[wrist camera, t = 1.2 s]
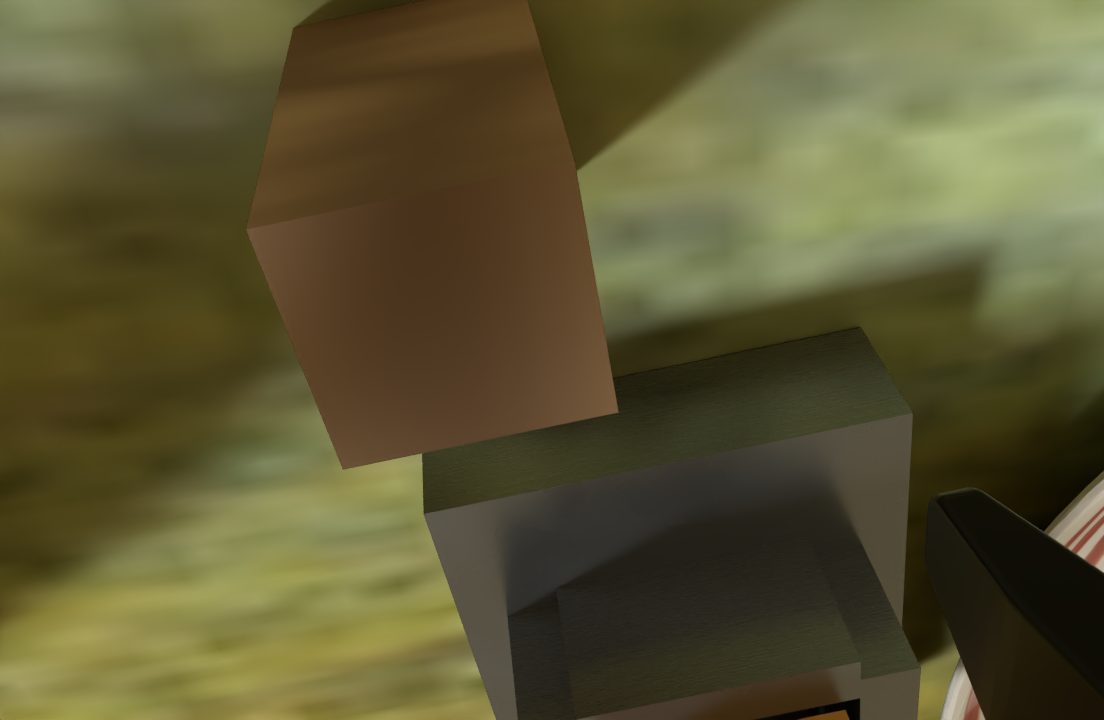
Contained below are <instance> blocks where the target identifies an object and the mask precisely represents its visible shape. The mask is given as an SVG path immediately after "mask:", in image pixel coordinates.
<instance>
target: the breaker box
mask: <svg viewBox="0 0 1104 720" xmlns="http://www.w3.org/2000/svg"><path fill="white" fill-rule="evenodd" d="M613 383H614V389H615V395H616V401H617V406H618V413H613V414H609V415H604V416H599V417H594V418H589V419H585V420H580V421H575V422H570V423H565V424H560V425H556V426H551V427H546V428H541V429H536V430H531V431H527V432H522V433H517V434H512V435H507V436H503V437H498V438H493V439H488V440H483V441H478V442H474V443H469V444H464V445H459V446H454V447H449V448H445V449H440V450H435V451H430V452H425V453H422V463H423V505H424V516H425V519H426V522H427V525H428V528H429V530H430V533H431V536H432V539H433V542H434V545H435V547H436V550H437V553H438V556H439V559H440V562H441V564H442V567H443V570H444V573H445V576H446V579H447V581H448V584H449V587H450V590H451V593H452V596H453V598H454V601H455V604H456V607H457V610H458V613H459V615H460V618H461V621H462V624H463V627H464V630H465V632H466V635H467V638H468V641H469V644H470V647H471V649H472V652H473V655H474V658H475V661H476V664H477V666H478V669H479V672H480V675H481V678H482V680H483V683H484V686H485V689H486V692H487V695H488V697H489V700H490V703H491V706H492V709H493V712H494V714H495V717H496V720H798V719H803V718H807V717H812V716H817V715H822V714H827V713H832V712H837V711H842V710H846V712H847V715H848V717H849V720H917V715H918V701H919V687H920V673H921V667H920V665H919V663H918V661H917V659H916V657H915V655H914V652H913V650H912V648H911V646H910V644H909V642H908V640H907V638H906V636H905V633H904V631H903V629H902V615H903V596H904V577H905V558H906V539H907V519H908V500H909V481H910V462H911V443H912V424H913V412H912V411H911V409H910V407H909V406H908V404H907V402H906V401H905V399H904V397H903V396H902V394H901V392H900V391H899V389H898V388H897V386H896V384H895V383H894V381H893V379H892V378H891V376H890V374H889V373H888V371H887V369H886V368H885V366H884V365H883V363H882V361H881V360H880V358H879V356H878V355H877V353H876V351H875V350H874V348H873V346H872V345H871V343H870V342H869V340H868V338H867V337H866V335H865V333H864V332H863V330H862V328H861V327H860V328H855V329H850V330H846V331H841V332H836V333H831V334H826V335H822V336H817V337H812V338H807V339H802V340H797V341H793V342H788V343H783V344H778V345H773V346H769V347H764V348H759V349H754V350H749V351H744V352H740V353H735V354H730V355H725V356H720V357H716V358H711V359H706V360H701V361H696V362H691V363H687V364H682V365H677V366H672V367H667V368H663V369H658V370H653V371H648V372H643V373H638V374H634V375H629V376H624V377H619V378H614V379H613Z"/></svg>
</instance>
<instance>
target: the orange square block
mask: <svg viewBox="0 0 1104 720" xmlns="http://www.w3.org/2000/svg"><path fill="white" fill-rule="evenodd" d="M798 720H849V717H848V715H847V712H846V710H842V711H837V712H832V713H827V714H822V715H817V716H812V717H807V718H803V719H798Z"/></svg>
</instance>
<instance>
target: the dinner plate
mask: <svg viewBox="0 0 1104 720" xmlns="http://www.w3.org/2000/svg"><path fill="white" fill-rule="evenodd" d="M1044 533H1046V534H1047V535H1049V536H1050V537H1052V538H1053V539H1055V540H1056V541H1058V542H1059V543H1061V544H1062V545H1064V546H1065V547H1067V548H1068V549H1070V550H1071V551H1073V552H1074V553H1076V554H1077V555H1079V556H1080V557H1082V558H1083V559H1085V560H1086V561H1088V562H1089V563H1091V564H1092V565H1094V566H1095V567H1097V568H1098V569H1099V570H1101V571H1102V572H1104V471H1103V472H1102V473H1101V474H1100V475H1099V476H1098V477H1097V478H1096V479H1094V480H1093V481H1092V482H1091V483H1090V484H1089V485H1088V486H1087V487H1086V488H1085V489H1084V490H1083V491H1082V492H1081V493H1080V494H1079V495H1078V496H1077V497H1076V498H1075V499H1074V500H1073V501H1072V502H1071V503H1070V504H1069V505H1068V506H1067V507H1066V508H1065V509H1064V510H1063V511H1062V512H1061V513H1060V514H1059V515H1058V516H1057V517H1056V518H1055V519H1054V521H1053V522H1052V523H1051V524H1050V525H1049V526H1048V527H1047V529H1046V530H1045V531H1044ZM941 720H985V718H984V716H983V713H982V711H981V708H980V706H979V703H978V701H977V698H976V696H975V693H974V691H973V688H972V685H971V683H970V680H969V678H968V675H967V673H966V670H965V667H964V665H963V662H962V660H961V657H960V659H959V661H958V664H957V666H956V669H955V671H954V674H953V676H952V679H951V681H950V684H949V686H948V690H947V694H946V698H945V702H944V707H943V711H942V715H941Z"/></svg>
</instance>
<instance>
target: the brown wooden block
mask: <svg viewBox="0 0 1104 720" xmlns="http://www.w3.org/2000/svg"><path fill="white" fill-rule="evenodd" d="M246 231H247V234H248V236H249V239H250V241H251V244H252V246H253V249H254V251H255V254H256V256H257V259H258V261H259V264H260V266H261V268H262V271H263V273H264V276H265V278H266V281H267V283H268V286H269V288H270V291H271V293H272V296H273V298H274V301H275V303H276V305H277V308H278V310H279V313H280V315H281V318H282V320H283V323H284V325H285V328H286V330H287V333H288V335H289V338H290V340H291V342H292V345H293V347H294V350H295V352H296V355H297V357H298V360H299V362H300V365H301V367H302V370H303V372H304V375H305V377H306V379H307V382H308V384H309V387H310V389H311V392H312V394H313V397H314V399H315V402H316V404H317V407H318V409H319V412H320V414H321V416H322V419H323V421H324V424H325V426H326V429H327V431H328V434H329V436H330V439H331V441H332V444H333V446H334V449H335V451H336V453H337V456H338V458H339V461H340V463H341V466H342V468H343V469H348V468H353V467H358V466H363V465H368V464H372V463H377V462H382V461H387V460H392V459H396V458H401V457H406V456H411V455H416V454H421V453H425V452H430V451H435V450H440V449H445V448H449V447H454V446H459V445H464V444H469V443H474V442H478V441H483V440H488V439H493V438H498V437H503V436H507V435H512V434H517V433H522V432H527V431H531V430H536V429H541V428H546V427H551V426H556V425H560V424H565V423H570V422H575V421H580V420H585V419H589V418H594V417H599V416H604V415H609V414H613V413H618V406H617V401H616V395H615V389H614V383H613V378H612V372H611V366H610V361H609V355H608V349H607V343H606V338H605V332H604V326H603V321H602V315H601V309H600V303H599V298H598V292H597V286H596V281H595V275H594V269H593V263H592V258H591V252H590V246H589V241H588V235H587V229H586V223H585V218H584V212H583V206H582V201H581V195H580V189H579V183H578V178H577V172H576V166H575V161H574V157H573V154H572V150H571V147H570V144H569V140H568V137H567V134H566V130H565V127H564V123H563V120H562V117H561V113H560V110H559V106H558V103H557V100H556V96H555V93H554V90H553V86H552V83H551V79H550V76H549V73H548V69H547V66H546V62H545V59H544V56H543V52H542V49H541V46H540V42H539V39H538V35H537V32H536V29H535V25H534V22H533V18H532V15H531V12H530V8H529V5H528V2H527V0H423V1H418V2H413V3H409V4H404V5H399V6H395V7H390V8H385V9H380V10H376V11H371V12H366V13H362V14H357V15H352V16H348V17H343V18H338V19H333V20H329V21H324V22H319V23H315V24H310V25H305V26H300V27H296V28H293V32H292V37H291V41H290V45H289V49H288V54H287V58H286V62H285V66H284V71H283V75H282V79H281V83H280V87H279V92H278V96H277V100H276V104H275V109H274V113H273V117H272V121H271V126H270V130H269V134H268V138H267V142H266V147H265V151H264V155H263V159H262V164H261V168H260V172H259V176H258V181H257V185H256V189H255V193H254V197H253V202H252V206H251V210H250V214H249V219H248V223H247V227H246Z"/></svg>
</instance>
